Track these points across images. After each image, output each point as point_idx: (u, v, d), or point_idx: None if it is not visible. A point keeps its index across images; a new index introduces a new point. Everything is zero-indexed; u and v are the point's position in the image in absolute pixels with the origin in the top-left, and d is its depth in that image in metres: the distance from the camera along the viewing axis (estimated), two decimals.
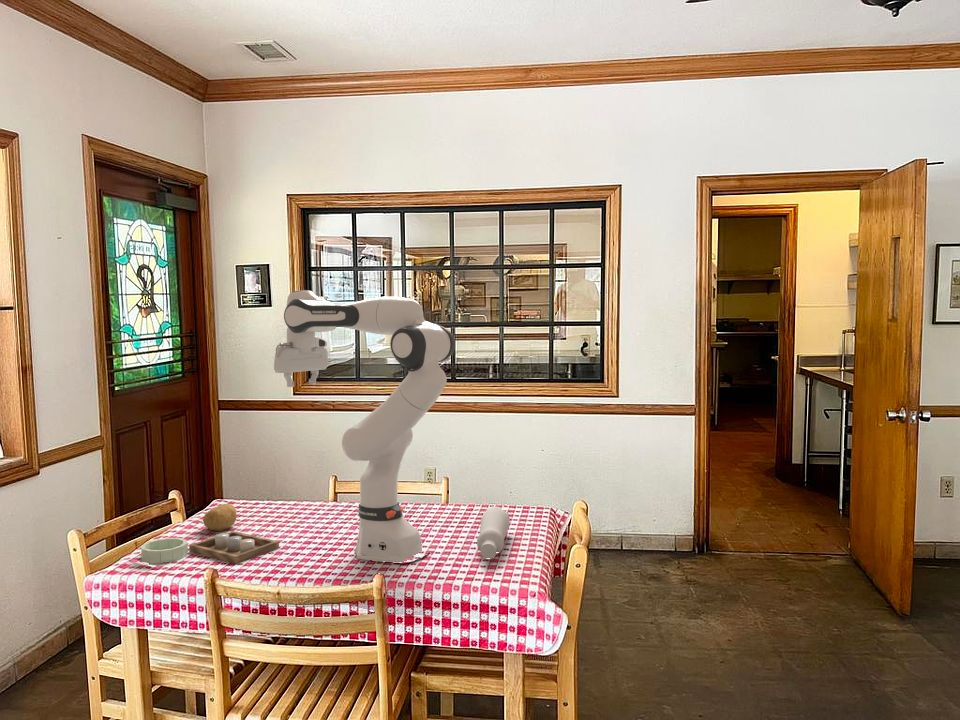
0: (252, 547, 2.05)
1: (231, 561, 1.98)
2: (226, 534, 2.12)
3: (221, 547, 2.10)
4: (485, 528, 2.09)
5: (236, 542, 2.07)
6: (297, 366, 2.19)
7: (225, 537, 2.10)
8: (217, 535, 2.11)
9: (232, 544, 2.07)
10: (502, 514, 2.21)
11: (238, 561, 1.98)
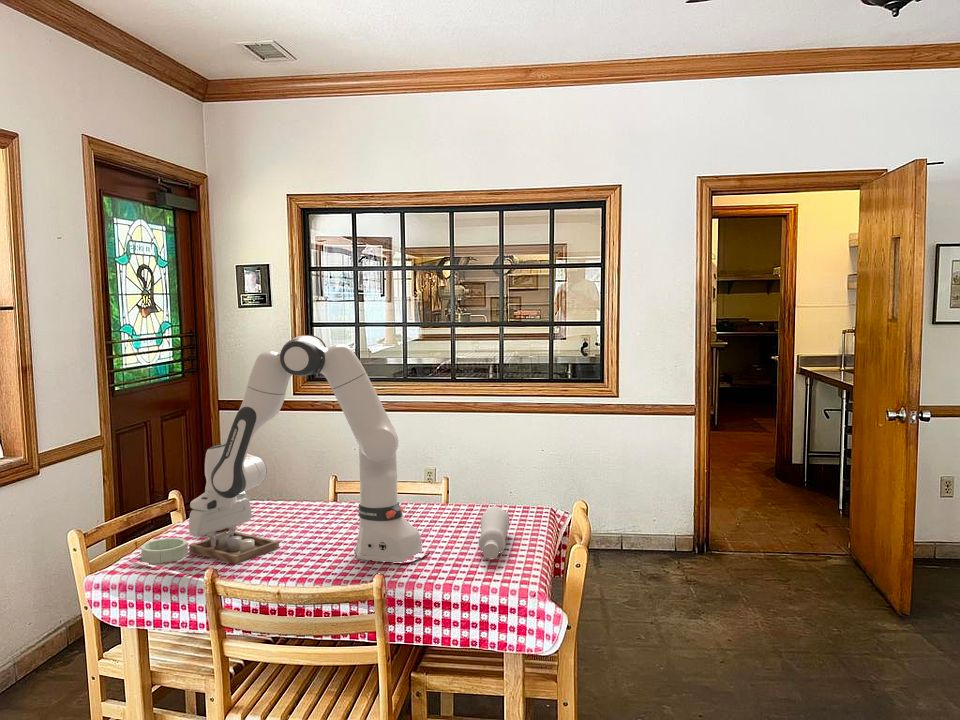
0: (252, 547, 2.05)
1: (231, 561, 1.98)
2: (226, 534, 2.12)
3: (221, 547, 2.10)
4: (486, 528, 2.09)
5: (236, 542, 2.07)
6: None
7: (225, 537, 2.10)
8: (217, 535, 2.11)
9: (232, 544, 2.07)
10: (502, 514, 2.21)
11: (238, 561, 1.98)
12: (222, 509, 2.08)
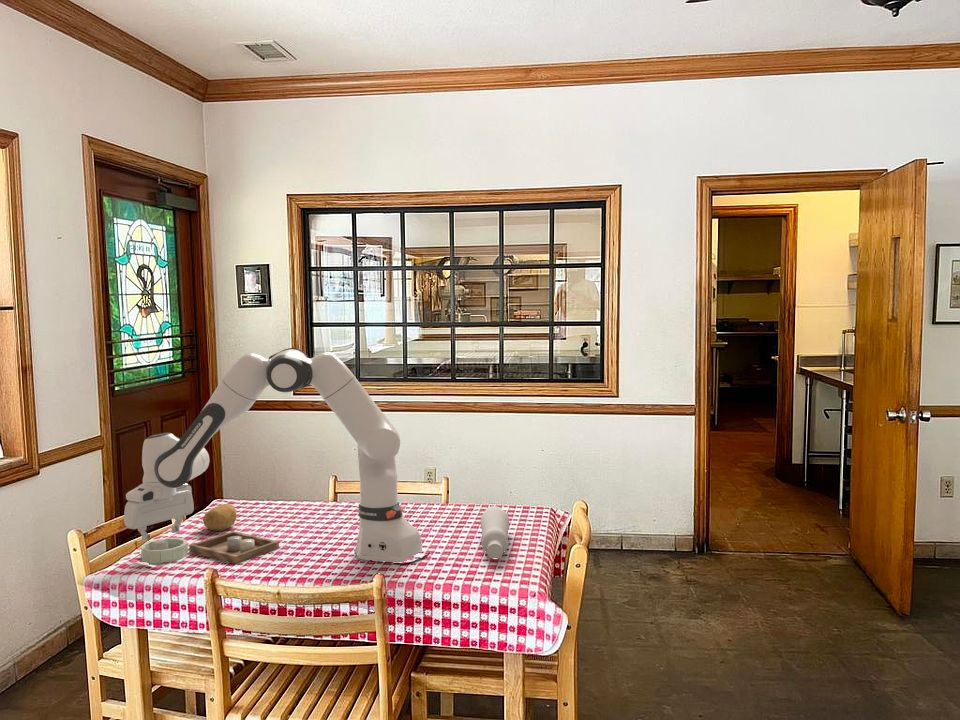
0: (252, 547, 2.05)
1: (231, 561, 1.98)
2: (165, 541, 2.05)
3: None
4: (489, 528, 2.09)
5: (236, 542, 2.07)
6: None
7: (163, 544, 2.03)
8: (155, 542, 2.04)
9: (232, 544, 2.07)
10: (503, 514, 2.21)
11: (238, 561, 1.98)
12: (160, 500, 2.01)
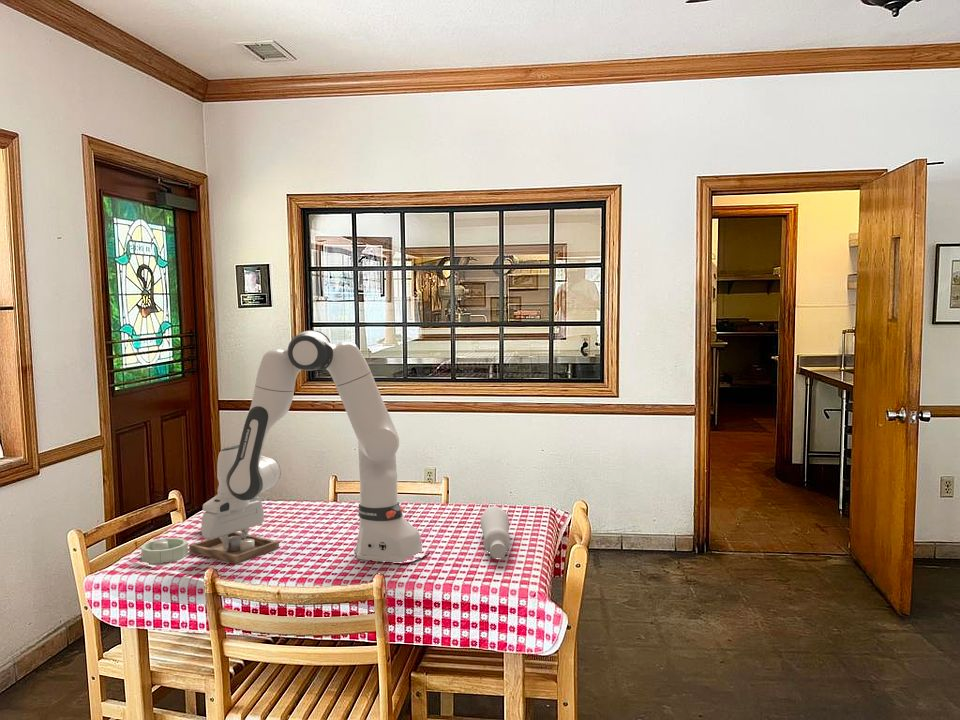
0: (252, 547, 2.05)
1: (231, 561, 1.98)
2: (165, 541, 2.05)
3: None
4: (490, 528, 2.09)
5: (236, 542, 2.07)
6: None
7: (163, 544, 2.03)
8: (155, 542, 2.03)
9: (232, 544, 2.07)
10: (503, 514, 2.21)
11: (238, 561, 1.98)
12: (235, 511, 2.05)
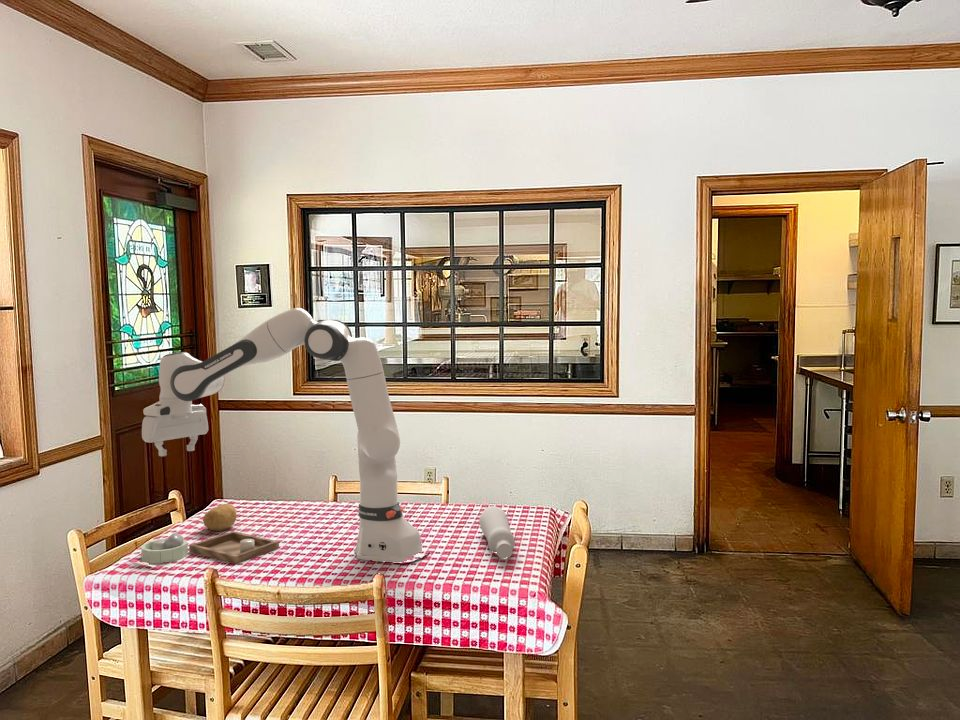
0: (252, 547, 2.05)
1: (231, 561, 1.98)
2: None
3: None
4: (494, 528, 2.09)
5: (175, 546, 2.02)
6: None
7: None
8: (155, 542, 2.03)
9: (171, 545, 2.01)
10: (503, 514, 2.22)
11: (238, 561, 1.98)
12: (176, 417, 2.06)
